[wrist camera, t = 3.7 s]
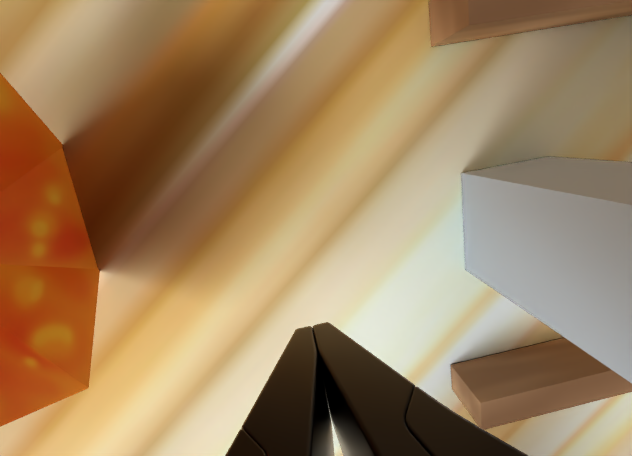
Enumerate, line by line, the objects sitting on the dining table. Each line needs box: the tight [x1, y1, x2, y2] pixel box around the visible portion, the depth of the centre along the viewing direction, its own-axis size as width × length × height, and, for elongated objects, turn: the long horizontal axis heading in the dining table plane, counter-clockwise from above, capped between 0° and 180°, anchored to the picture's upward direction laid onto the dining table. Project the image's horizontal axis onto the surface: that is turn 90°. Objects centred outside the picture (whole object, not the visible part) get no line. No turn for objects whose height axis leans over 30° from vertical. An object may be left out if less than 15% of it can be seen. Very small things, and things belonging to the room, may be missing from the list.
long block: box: [461, 156, 632, 383], centre depth 10 cm, size 4×4×10 cm
